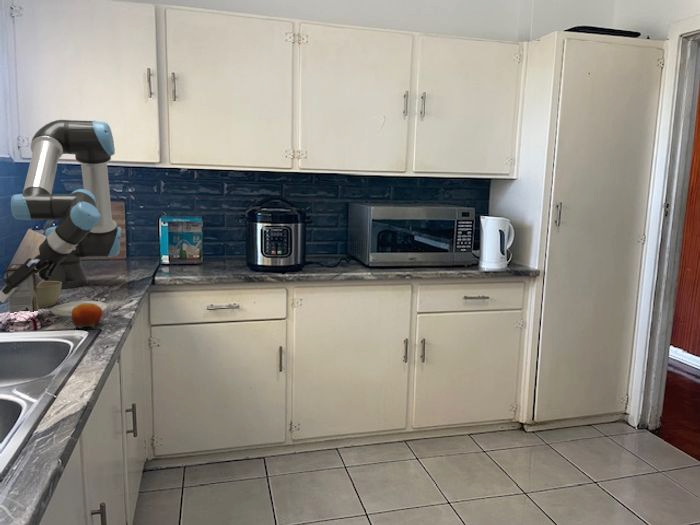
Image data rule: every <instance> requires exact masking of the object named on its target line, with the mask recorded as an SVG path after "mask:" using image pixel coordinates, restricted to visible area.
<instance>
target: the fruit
mask: <svg viewBox="0 0 700 525" xmlns="http://www.w3.org/2000/svg"><path fill="white" fill-rule="evenodd" d="M102 316H103V312H102V309H101V308H100V307H99V306H98V305H96V304H92V303H83V304H80V305H78V306H76V307H74V308H73V310H72V317H71V318H72V319H71V320H72V322H73V323H74V325H75V327H76V328H79V329H82V328H87V327H88V328H89V327H91V328H93V329H95V326H97V325H98V324H99V323H100V321H101V319H102Z"/></svg>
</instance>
